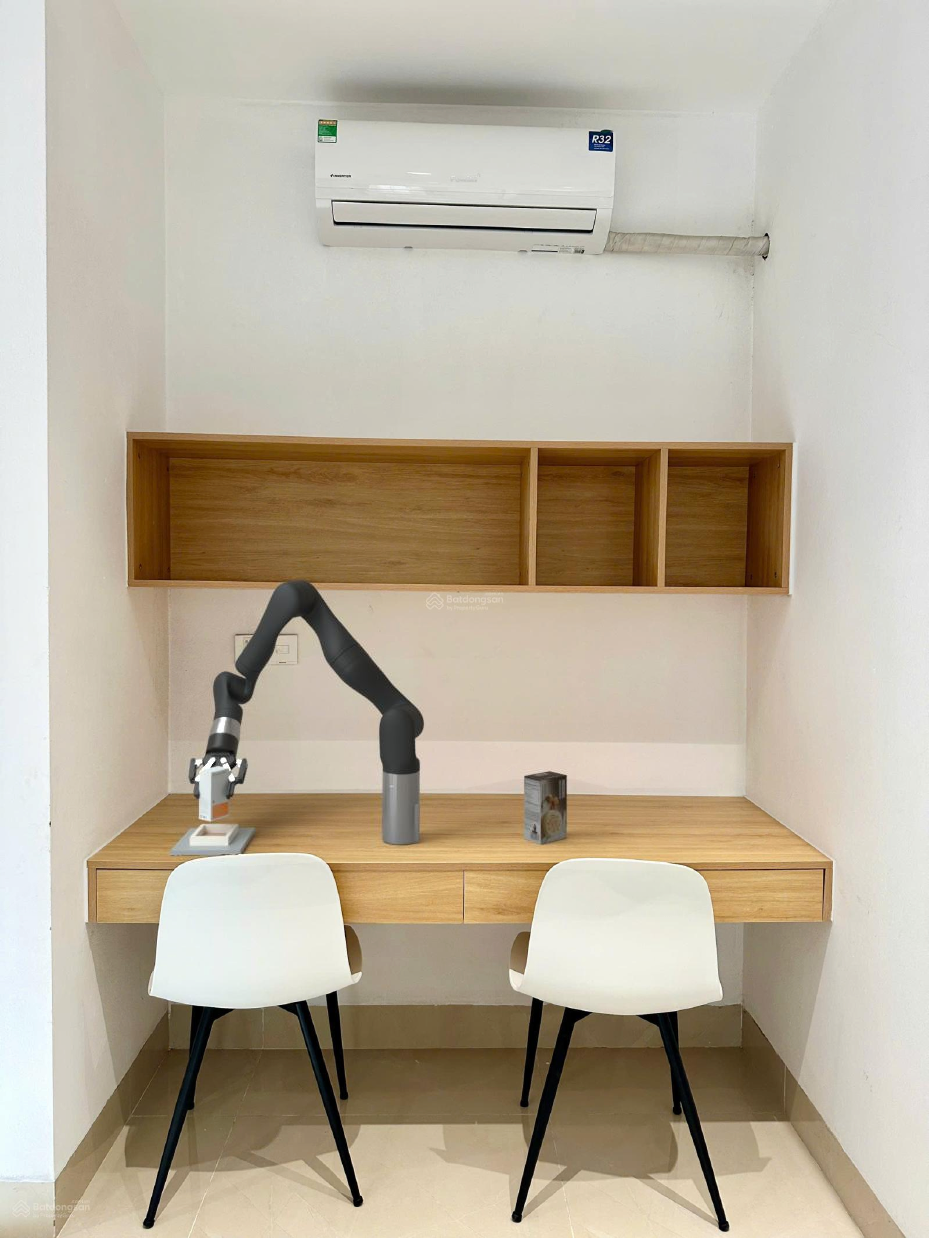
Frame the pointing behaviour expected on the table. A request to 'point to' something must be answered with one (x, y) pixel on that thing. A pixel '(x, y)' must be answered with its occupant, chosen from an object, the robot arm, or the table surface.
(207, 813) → the skincare box
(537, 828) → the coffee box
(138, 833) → the table surface
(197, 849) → the board
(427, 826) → the table surface
